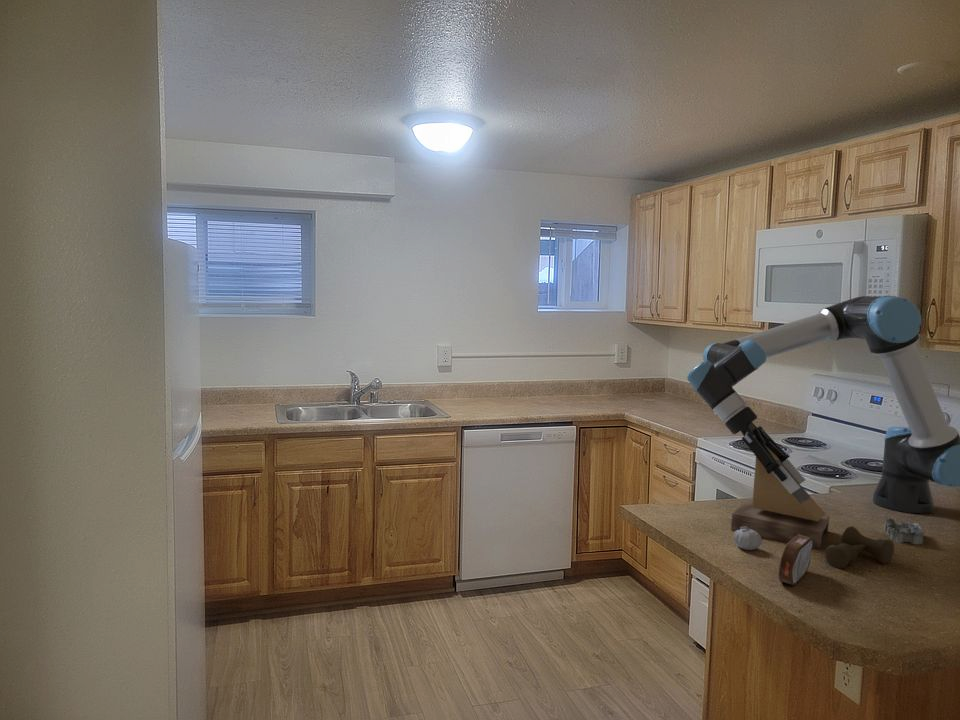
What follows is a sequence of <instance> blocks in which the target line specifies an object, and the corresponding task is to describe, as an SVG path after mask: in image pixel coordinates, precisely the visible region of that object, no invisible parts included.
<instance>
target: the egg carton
mask: <svg viewBox="0 0 960 720" xmlns="http://www.w3.org/2000/svg"><path fill="white" fill-rule="evenodd" d="M884 518H885V519H886V520H885V523H884V525H883V528H884V530H885V531H887V532H886V535H887V534H888V535H887V536H889V537H890V538H889V540H891V541H894V540H895V542H896V543H901V542H902V543H905V542H906V543H909V542H910V544H912V545H916V544H917V545H916V546H919V545H923V543H924V534H925V531H924V530H923V527H921V526H920V524H919V523H918V522H915V523H914V522H913V523H912V522H908V521H907V522H904V521H902V520H901V521H899V523H896V521H895V519H894V518H891V517H888V515H887V514H885V515H884ZM884 530H883V531H884ZM885 531H884V532H885ZM896 531H898V532H896Z"/></svg>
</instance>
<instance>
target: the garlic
mask: <svg viewBox="0 0 960 720" xmlns="http://www.w3.org/2000/svg"><path fill="white" fill-rule="evenodd" d="M744 528H745V529H744ZM733 540H734V543H735V544H736V545H737V546H738V547H739V548H740V549H742V550H744V551H745V550H746V551H754V550H757V549H758V548H760V547H761V545H762V537H761V536H760V535H759V534H758V533H757V532H756V531H754V530H751V529H749V528H748V527H747V526H743V527H740V530H737V531H734V533H733Z"/></svg>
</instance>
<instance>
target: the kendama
mask: <svg viewBox="0 0 960 720" xmlns="http://www.w3.org/2000/svg"><path fill="white" fill-rule="evenodd" d="M862 552H863V553H865V554H869V555H871V556H872V557H873V558H875V559H876V560H877V562H879V563H880V564H882V565H885V564H888V563H889V562H890V561H891V560H892V559H893V556H894V553H895V544H894V540H891V539H881V538H880V539H872V538H870V537H867V536H865V535H863V534H862V533H860V531H859V530H858V529H857V528H856V527H855V526H853V525H852V526H848V527H846V529H845V530H844V531H843V533H842V535H841V541H840V543H838V544H837V545H836V544H830V545H827V547H826V548H825V551H824V558H825V561H826V562H827V564H828V565H829V566H831V567H832V568H836V569H839V570H840V569H841V570H842V569H846V567H847V566H848V564H854V563H855V562H856V561H857V559H858V555H859V554H860V553H862Z"/></svg>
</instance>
